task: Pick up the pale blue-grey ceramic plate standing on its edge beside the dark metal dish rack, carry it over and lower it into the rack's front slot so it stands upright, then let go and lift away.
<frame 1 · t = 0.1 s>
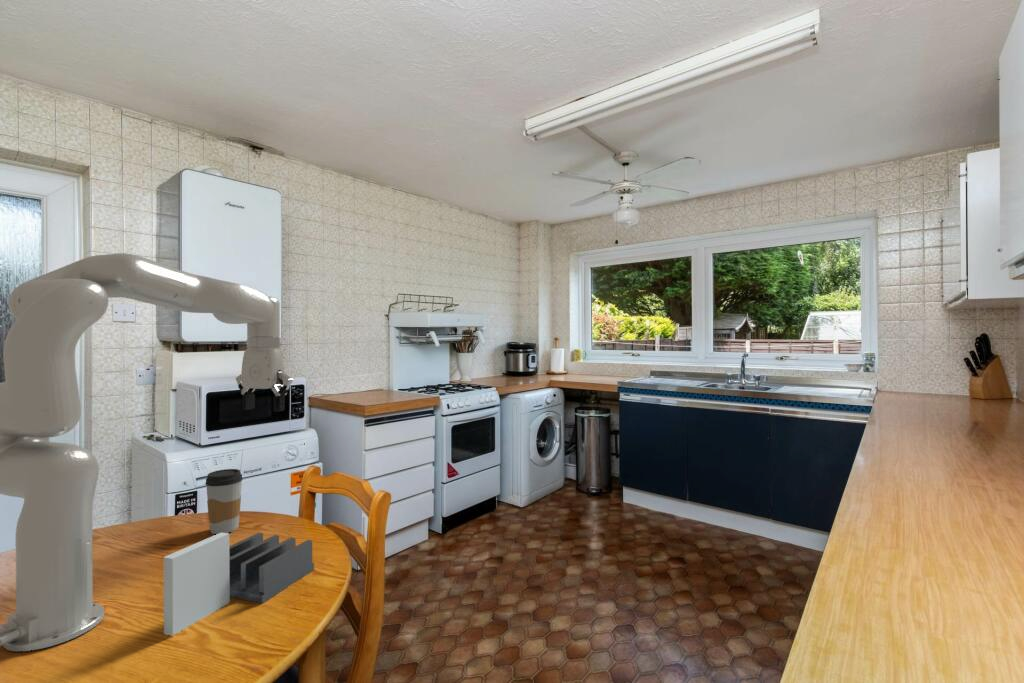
hand: (263, 410, 125), 31 cm above the table, tool pointing down, fingers open, 9 cm apart
dish rack: (261, 580, 99), on the table
coffee cup: (224, 531, 126), on the table
plate: (198, 617, 86), on the table
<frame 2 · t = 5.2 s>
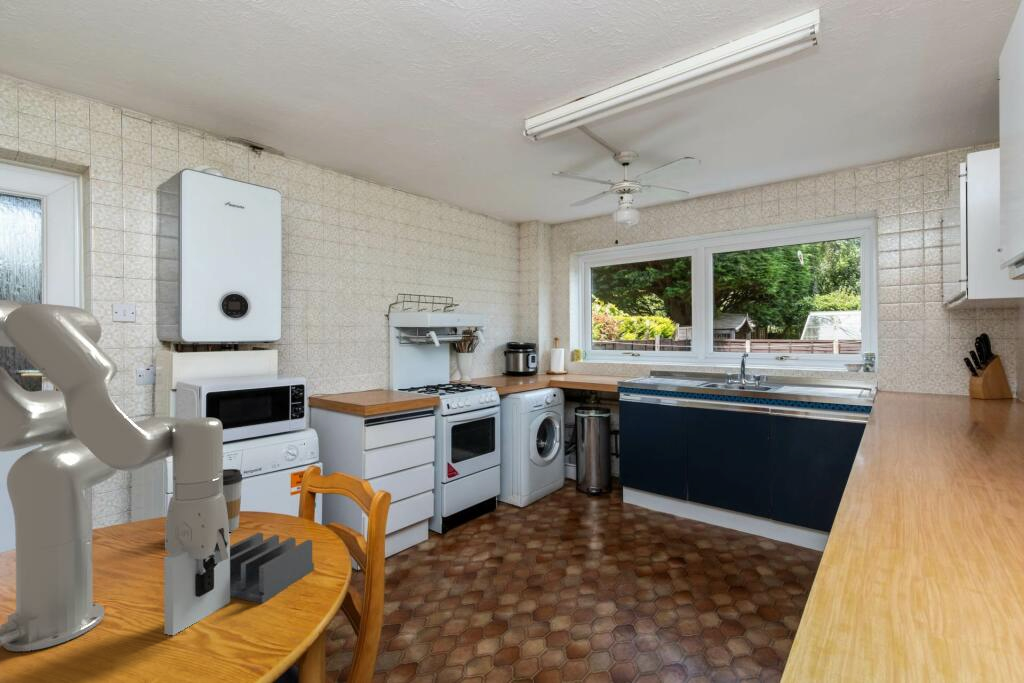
hand: (199, 591, 86), 5 cm above the table, tool pointing down, fingers closed on plate, 2 cm apart
plate: (199, 617, 86), on the table, touching gripper
everything else where it was.
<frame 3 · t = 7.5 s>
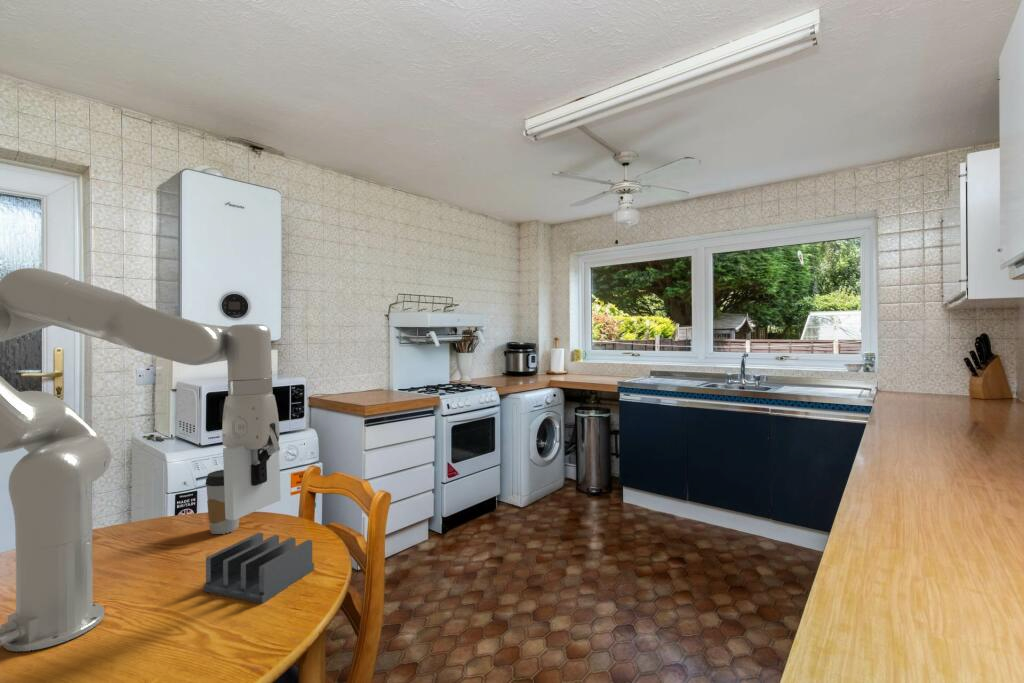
hand: (254, 482, 94), 22 cm above the table, tool pointing down, fingers closed on plate
plate: (254, 509, 94), point 17 cm above the table, touching gripper
everything else where it was.
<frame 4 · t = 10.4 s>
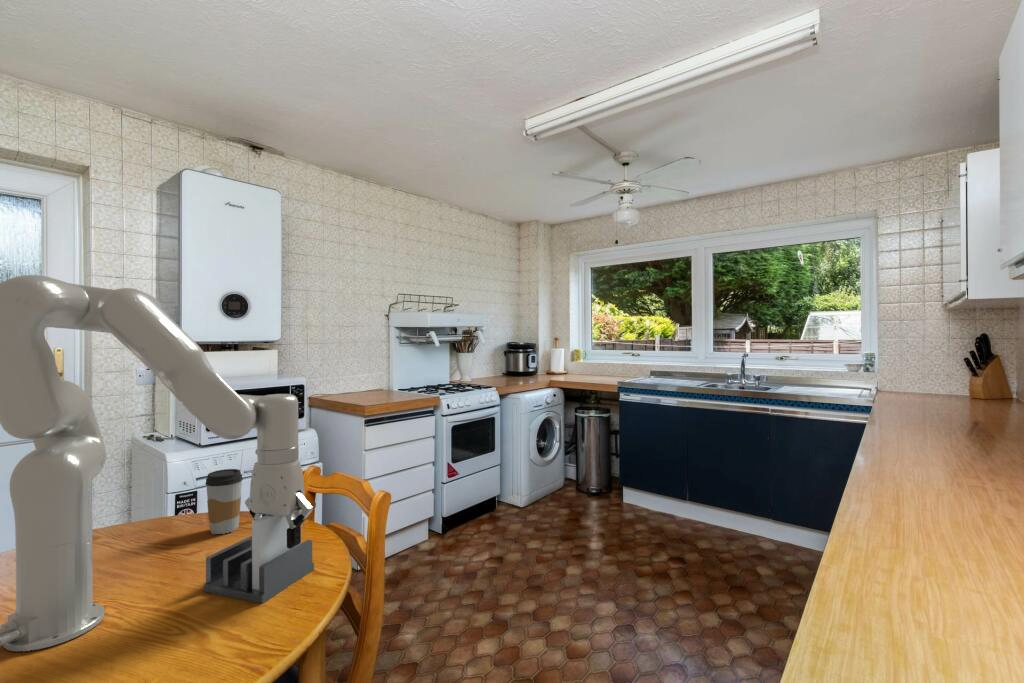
hand: (278, 542, 98), 8 cm above the table, tool pointing down, fingers open, 7 cm apart
plate: (278, 576, 98), point 1 cm above the table, touching dish rack
everything else where it was.
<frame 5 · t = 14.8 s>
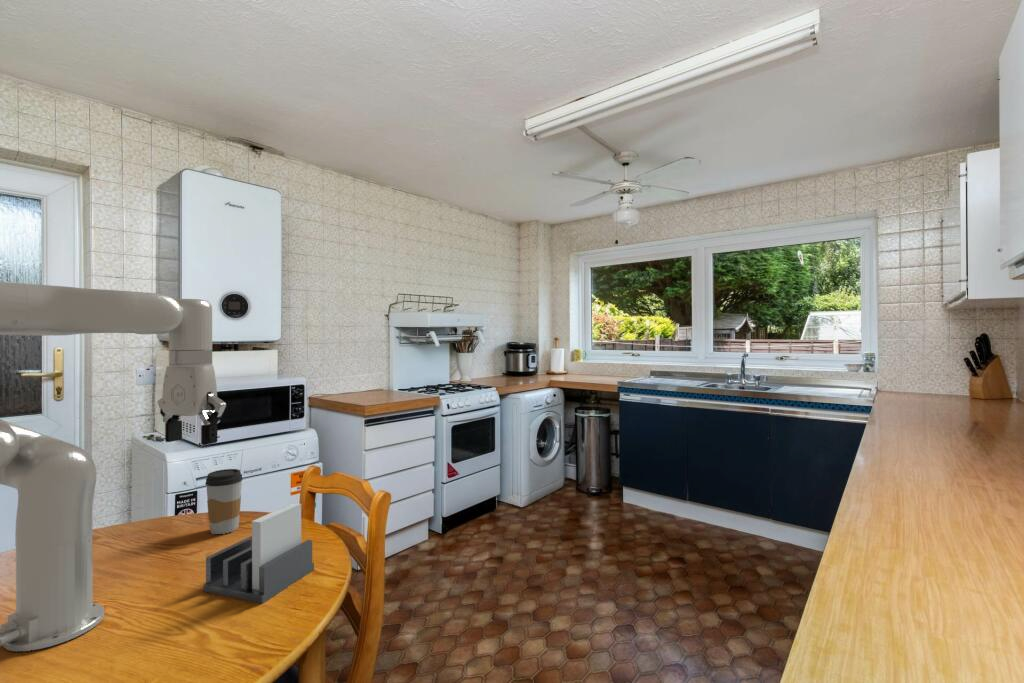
hand: (191, 442, 100), 28 cm above the table, tool pointing down, fingers open, 9 cm apart
nothing on the table moved.
at the end: plate 0.1 cm from the target spot on the dish rack, point 1.5 cm above the dish rack's base; plate tilted 0°; the gripper is holding nothing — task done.
